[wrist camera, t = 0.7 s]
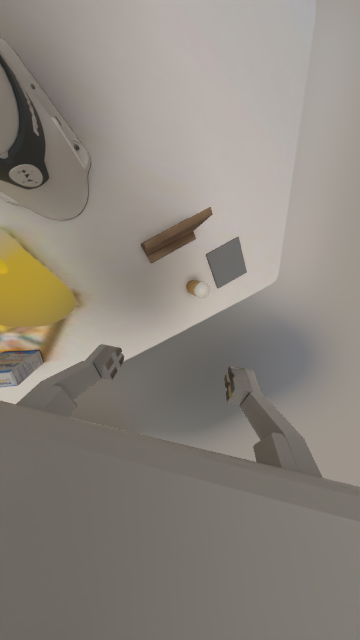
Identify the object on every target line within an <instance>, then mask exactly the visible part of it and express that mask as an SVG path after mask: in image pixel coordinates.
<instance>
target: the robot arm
mask: <svg viewBox="0 0 360 640" xmlns="http://www.w3.org/2000/svg"><path fill="white" fill-rule="evenodd" d="M76 148H79V150H78V151H77V150H76ZM90 165H91V158H90V156H89V154H88V152H87V151H86V149H85V148H84V146H83V145H82V144H81V142H80V141H79V140H78V138H77V137H76V135H75V134H74V133H73V131H72V130H71V129H70V127H69V126H68V124H67V123H66V122H65V120H64V119H63V118H62V116H61V115H60V113H59V112H58V111H57V109H56V108H55V107H54V105H53V104H52V103H51V101H50V100H49V98H48V97H47V96H46V94H45V93H44V92H43V90H42V89H41V87H40V86H39V85H38V83H37V82H36V81H35V79H34V78H33V76H32V75H31V74H30V72H29V71H28V70H27V68H26V67H25V65H24V64H23V63H22V61H21V60H20V59H19V57H18V56H17V54H16V53H15V52H14V50H13V49H12V48H11V46H10V45H9V44H8V43H7V42H6V41H5V40H4V39H3V38H1V37H0V197H1V198H2V199H3V200H5V201H6V202H8V203H11V204H14V205H18V206H24V207H27V208H29V209H31V210H32V211H34V212H36V213H38V214H40V215H42V216H44V217H47V218H50V219H55V220H67V219H71V218H73V217H75V216H77V215H78V214H79V213H81V211H82V210H83V209H84V207H85V205H86V203H87V199H88V180H87V176H88V172H89V169H90ZM121 352H122V349H121V348H119V347H113V346H108V345H103V344H101V345H99V346H98V347H97V348H96V349H95V350H94V352H93V353H92V354H91V355H90V356H89V357H88V358H87V359H86V360H85V361H81V362H79V363H77V364H75V365H73V366H71V367H69V368H67V369H65V370H63V371H61V372H59V373H57V374H55V375H53V376H51V377H49V378H47V379H45V380H43V381H41V382H40V383H39V384H38V385H37V386H35V387H34V388H33V389H32V390H31V391H30V392H29V393H28V394H27V395H26V396H24V397H23V398H22V399H21V400H20V401H19V402H18V403H17V404H12V403H8V402H3V401H0V640H360V487H358V486H354V485H350V484H346V483H342V482H337V481H333V480H329V479H325V478H322V475H321V473H320V471H319V469H318V467H317V465H316V463H315V461H314V459H313V457H312V455H311V452H310V450H309V448H308V446H307V444H306V442H305V440H304V438H303V437H302V436H301V435H300V434H299V433H298V431H297V430H296V429H295V428H294V427H293V426H292V425H291V424H290V423H289V422H288V421H287V420H286V418H285V417H284V416H283V415H282V414H281V413H280V412H279V411H278V410H277V409H276V407H275V406H274V405H273V404H272V403H271V402H270V401H269V400H268V399H267V398H266V397H265V395H262V394H261V391H260V388H259V385H258V383H257V380H256V377H255V374H254V372H253V370H250V369H244V368H238V367H232V366H229V367H228V372H227V373H226V374H225V378H224V382H225V383H224V384H225V387H226V388H227V391H226V399H227V403H230V404H235V405H239V406H240V408H241V409H242V411H243V412H244V414H245V416H246V417H247V419H248V420H249V422H250V424H251V425H252V427H253V428H254V430H255V432H256V433H257V435H258V437H259V438H260V440H261V441H259V442H258V443H256V444H255V445H254V446H253V448H254V452H255V457H256V462H254V461H250V460H246V459H241V458H237V457H233V456H229V455H225V454H221V453H216V452H212V451H207V450H204V449H199V448H195V447H191V446H187V445H183V444H179V443H175V442H170V441H166V440H162V439H158V438H153V437H150V436H145V435H141V434H136V433H133V432H128V431H124V430H120V429H116V428H112V427H108V426H104V425H99V424H95V423H91V422H87V421H83V420H79V419H74V418H70V416H71V414H72V413H73V411H74V410H75V409H76V407H77V403H76V402H75V401H74V400H73V399H75V398H76V397H78V396H79V395H80V394H81V393H83V392H84V391H86V390H87V389H88V388H89V387H91V386H92V385H94V384H95V383H96V382H97V381H99V380H100V379H101V378H104V379H110V380H112V379H113V378H114V376H115V375H116V373H117V369H118V368H119V367H121V365H122V363H123V360H124V356H123V354H122V353H121Z"/></svg>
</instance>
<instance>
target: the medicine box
mask: <svg viewBox="0 0 360 640" xmlns="http://www.w3.org/2000/svg"><path fill="white" fill-rule="evenodd" d="M42 364H43V360H42V357H41V354H40V351H39V350H37V351H15V352H3V353H1V354H0V387H8V386H18V385H19V384H20V383H21V382H23V381H24V380H25V379H26V378H27V377H28V376H29V375H30V374H31V373H33V372H34V371H35V370H36V369H37V368H38V367H39V366H40V365H42Z"/></svg>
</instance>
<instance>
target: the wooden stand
mask: <svg viewBox="0 0 360 640" xmlns="http://www.w3.org/2000/svg"><path fill="white" fill-rule="evenodd" d="M211 215H212V210H211V207H209V208H207V209H205V210H204V211H202V212H200V213H198V214H196V215H194V216H192V217H191V218H189V219H186V220H184V221H182V222H180V223H179V224H177V225H175V226H173V227H171V228H169V229H167V230H166V231H164V232H162V233H160V234H158V235H156V236H154V237H153V238H151V239H149V240H147V241H145V242H143V243H142V244H141V246H142V248H143V249H144V251H145V253H146V255H147V257H148V259H149V260H150V262H151V263H153V262H155V261H156V260H158V259H160V258H162V257H164V256H166V255H167V254H169V253H171V252H173V251H175V250H176V249H178V248H180V247H182V246H184V245H186V244H187V243H189V242H191V241H193V240H195V239H196V238H195V235H194V232H193V231H194V230H195V229H196V228H197V227H199V226H200V225H201V224H202V223H203V222H204V221H205V220H207V219H208V218H209V217H210V216H211Z"/></svg>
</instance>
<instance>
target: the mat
mask: <svg viewBox="0 0 360 640" xmlns="http://www.w3.org/2000/svg"><path fill="white" fill-rule="evenodd" d="M206 257H207V260H208V263H209V266H210V268H211V271H212V274H213V277H214V280H215V283H216V286H217V288H220V287H222V286H223V285H225V284H227V283H229V282H230V281H232V280H234V279H236V278H238V277H239V276H241V275H243V274H245V273H246V272H247V271H246V267H245V263H244V258H243V254H242V250H241V245H240V241H239V237H237V238H235V239H233V240H232V241H230V242H228V243H226V244H224V245H223V246H221V247H219V248H217V249H215V250H214V251H212V252H210V253H208V254H206Z"/></svg>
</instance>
